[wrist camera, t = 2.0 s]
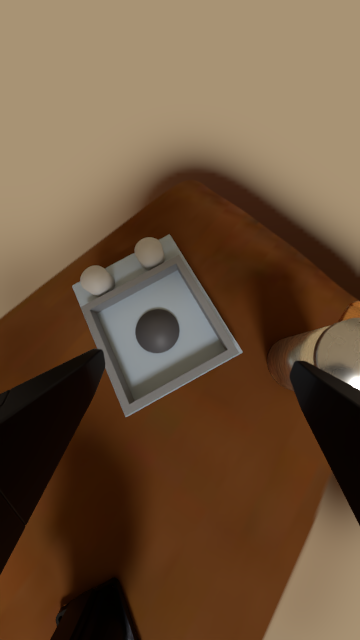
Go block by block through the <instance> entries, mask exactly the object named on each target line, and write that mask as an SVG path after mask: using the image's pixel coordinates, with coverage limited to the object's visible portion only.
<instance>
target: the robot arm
mask: <svg viewBox="0 0 360 640" xmlns="http://www.w3.org/2000/svg"><path fill="white" fill-rule="evenodd" d="M104 369H105V358H104V352H103V350H102V349H92V350H90V351H88V352H86V353H84V354H82V355H80V356H77V357H75V358H73V359H71V360H69V361H67V362H65V363H63V364H61V365H59V366H57V367H55V368H53V369H51V370H49V371H47V372H45V373H43V374H41V375H38V376H36V377H34V378H32V379H30V380H28V381H26V382H24V383H22V384H20V385H18V386H16V387H14V388H12V389H11V390H8V391H6V392H3V393H1V394H0V574H1V572H2V571H3V569H4V567H5V565H6V563H7V561H8V559H9V557H10V555H11V553H12V551H13V550H14V548H15V546H16V544H17V542H18V540H19V538H20V536H21V534H22V532H23V531H24V529H25V525H26V524H27V523H28V521H29V519H30V517H31V515H32V513H33V511H34V509H35V507H36V505H37V503H38V502H39V500H40V498H41V496H42V494H43V492H44V490H45V488H46V486H47V484H48V483H49V481H50V479H51V477H52V475H53V473H54V471H55V469H56V467H57V465H58V463H59V462H60V460H61V458H62V456H63V454H64V452H65V450H66V448H67V446H68V444H69V442H70V441H71V439H72V437H73V435H74V433H75V431H76V429H77V427H78V425H79V423H80V422H81V420H82V418H83V416H84V414H85V412H86V410H87V408H88V406H89V404H90V402H91V401H92V398H93V396H94V394H95V392H96V389H97V387H98V384H99V382H100V379H101V377H102V374H103V371H104ZM289 378H290V381H291V384H292V386H293V389H294V392H295V394H296V397H297V399H298V402H299V405H300V407H301V410H302V412H303V414H304V416H305V418H306V420H307V422H308V424H309V426H310V428H311V430H312V432H313V434H314V436H315V438H316V440H317V442H318V444H319V446H320V448H321V450H322V452H323V454H324V456H325V458H326V460H327V462H328V464H329V466H330V468H331V470H332V472H333V474H334V476H335V478H336V479H337V482H338V483H339V485H340V487H341V489H342V491H343V493H344V495H345V497H346V499H347V501H348V503H349V505H350V507H351V509H352V511H353V513H354V515H355V517H356V519H357V521H358V523H359V525H360V390H359V389H357V388H355V387H353V386H352V385H350V384H348V383H346V382H344V381H342V380H340V379H338V378H337V377H335V376H333V375H331V374H329V373H327V372H325V371H323V370H322V369H320V368H318V367H316V366H314V365H312V364H310V363H308V362H306V361H298V360H297V361H295V362H294V363H293V366H292V369H291V372H290V375H289ZM112 586H114V587H115V588H113V587H112ZM62 616H63V617H62ZM56 624H57V628H56V630H55V632H54V634H53V636H52V637H51V639H50V640H138V639H137V636H136V633H135V630H134V626H133V623H132V620H131V617H130V614H129V611H128V608H127V605H126V602H125V599H124V596H123V593H122V590H121V587H120V584H119V581H118V579H116V578H112V579H110V580H109V581H107V582H105V583H103V584H102V585H100V586H98V587H97V588H92V589H91V590H89V591H87V592H85V593H84V594H82V595H80V596H79V597H77V598H75V599H73V600H72V601H71V602H70V603H69V604H67V605H66V606H64V607H62V608H61V609H60V611H59V613H58V615H57V617H56Z"/></svg>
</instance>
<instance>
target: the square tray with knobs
mask: <svg viewBox="0 0 360 640" xmlns="http://www.w3.org/2000/svg"><path fill="white" fill-rule="evenodd" d="M72 287H73V289H74V292H75V294H76V297H77V299H78V302H79V304H80V306H81V310H82V312H83V314H84V317H85V319H86V322H87V324H88V327H89V329H90V331H91V334H92V336H93V339H94V341H95V344H96V346H97V349H102V350H103V352H104V358H105V368H106V371H107V373H108V375H109V378H110V380H111V383H112V385H113V388H114V390H115V392H116V395H117V397H118V400H119V402H120V405H121V407H122V410H123V412H124V414H125V416H126V417H127V416H129V415H131V414H133V413H134V412H136V411H138V410H140V409H142V408H143V407H145V406H147V405H149V404H151V403H152V402H154V401H156V400H158V399H160V398H161V397H163V396H165V395H167V394H169V393H170V392H172V391H174V390H176V389H178V388H179V387H181V386H183V385H185V384H187V383H188V382H190V381H192V380H194V379H196V378H197V377H199V376H201V375H203V374H205V373H206V372H208V371H210V370H212V369H214V368H215V367H217V366H219V365H221V364H223V363H224V362H226V361H228V360H230V359H232V358H233V357H235V356H237V355H239V354H240V353H242V350H241V349H240V347H239V345H238V344H237V342H236V341H235V339H234V337H233V336H232V334H231V332H230V331H229V329H228V328H227V326H226V324H225V323H224V321H223V320H222V318H221V316H220V315H219V313H218V311H217V310H216V308H215V307H214V305H213V303H212V302H211V300H210V299H209V297H208V295H207V294H206V292H205V290H204V289H203V287H202V286H201V284H200V282H199V281H198V279H197V278H196V276H195V274H194V273H193V271H192V269H191V268H190V266H189V265H188V263H187V261H186V260H185V258H184V257H183V255H182V253H181V252H180V250H179V248H178V247H177V245H176V244H175V242H174V240H173V239H172V237H171V236H170V234H169V235H167V236H165V237H163V238H161V239H159V240H157V239H156V238H153V237H147V238H143V239H142V240H140V241H139V242H138V243H137V244H136V246H135V253H133V254H131V255H129V256H127V257H125V258H124V259H122V260H120V261H118V262H116V263H114V264H112V265H110V266H108V267H107V268H105V269H104V268H103V267H101V266H97V265H95V266H90V267H88V268H87V269H86V270H85V271H84V272H83V273H82V275H81V278H80V282H78V283H76V284H74V285H72Z"/></svg>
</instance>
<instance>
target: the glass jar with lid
mask: <svg viewBox="0 0 360 640" xmlns="http://www.w3.org/2000/svg"><path fill="white" fill-rule="evenodd" d="M297 360H298V361H306V362H308V363H310V364H312V365H314V366H316V367H318V368H320V369H322V370H323V371H325V372H327V373H329V374H331V375H333V376H335V377H337V378H338V379H340V380H342V381H344V382H346V383H348V384H350V385H352V386H353V387H355V388H357V389H359V390H360V301H355V302H352V303H350V304H349V306H348V307H347V309H346V310H345V312H344V313H343V315H342V316H341V318H340V319H339V321H338V322H337V323H335V324H333V325H331V326H327V327H324V328H320V329H316V330H313V331H309V332H305V333H302V334H298V335H295V336H291V337H287V338H284V339H281V340H279V341H277V342H276V343H275V344H274V345H273V346H272V347H271V349H270V350H269V353H268V357H267V364H268V369H269V372H270V374H271V375H272V377H273V378H274V380H275V381H276V382H277V383H278V384H280V385H281V386H283V387H284V388H286V389H289V390H292V391H294V389H293V386H292V384H291V381H290V378H289V375H290V372H291V369H292V366H293V363H294V362H295V361H297Z"/></svg>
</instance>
